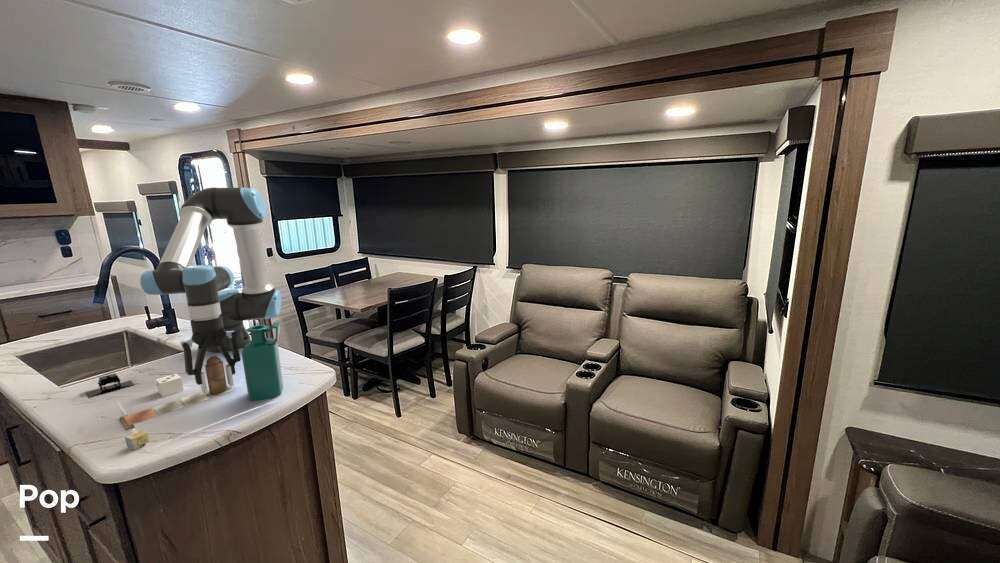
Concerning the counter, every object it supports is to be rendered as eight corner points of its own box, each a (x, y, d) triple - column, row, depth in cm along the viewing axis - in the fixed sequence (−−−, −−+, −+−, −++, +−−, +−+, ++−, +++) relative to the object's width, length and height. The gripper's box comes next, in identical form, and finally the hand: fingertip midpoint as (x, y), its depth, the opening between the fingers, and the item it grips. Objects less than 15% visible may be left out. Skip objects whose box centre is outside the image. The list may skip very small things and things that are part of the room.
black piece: (82, 402, 113) (79, 387, 112) (79, 395, 118) (75, 380, 117) (141, 386, 124) (138, 372, 123) (136, 379, 128) (133, 366, 127)
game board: (226, 384, 122) (226, 382, 122) (237, 392, 117) (236, 390, 117) (119, 418, 103) (119, 416, 103) (126, 429, 98) (125, 427, 98)
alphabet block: (126, 448, 90) (124, 436, 90) (143, 440, 93) (140, 429, 93) (133, 451, 89) (131, 439, 89) (149, 443, 92) (147, 432, 91)
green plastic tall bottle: (247, 404, 110) (236, 332, 106) (253, 391, 118) (243, 324, 113) (285, 397, 114) (276, 327, 109) (288, 385, 121) (280, 320, 117)
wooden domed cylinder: (224, 386, 120) (219, 352, 118) (229, 390, 117) (223, 355, 115) (207, 391, 117) (201, 357, 115) (212, 395, 114) (206, 360, 112)
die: (179, 388, 121) (176, 373, 120) (183, 392, 118) (181, 377, 117) (158, 394, 117) (155, 379, 116) (163, 399, 114) (159, 383, 113)
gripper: (238, 308, 122) (248, 374, 126) (161, 322, 107) (175, 397, 112) (247, 312, 117) (257, 380, 122) (168, 327, 103) (182, 405, 107)
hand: (218, 388), depth 117 cm, fingers open, 6 cm apart
